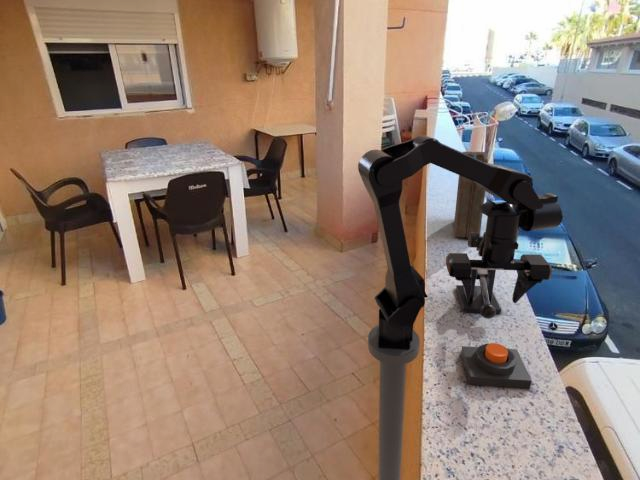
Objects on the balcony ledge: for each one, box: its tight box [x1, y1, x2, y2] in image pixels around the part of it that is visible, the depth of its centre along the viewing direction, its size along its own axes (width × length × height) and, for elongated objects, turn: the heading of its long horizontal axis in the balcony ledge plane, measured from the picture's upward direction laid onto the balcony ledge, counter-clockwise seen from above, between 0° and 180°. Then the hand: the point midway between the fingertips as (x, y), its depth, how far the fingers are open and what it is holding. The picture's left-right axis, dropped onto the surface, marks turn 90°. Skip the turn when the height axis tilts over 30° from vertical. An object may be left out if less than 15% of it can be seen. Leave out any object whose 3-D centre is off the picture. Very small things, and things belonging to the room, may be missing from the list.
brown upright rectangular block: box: [453, 151, 489, 239], centre depth 123 cm, size 19×8×25 cm, turn 161°
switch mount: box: [455, 269, 502, 315], centre depth 87 cm, size 10×8×10 cm
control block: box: [460, 343, 532, 390], centre depth 68 cm, size 10×8×4 cm
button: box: [485, 342, 508, 364], centre depth 67 cm, size 4×4×2 cm
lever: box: [476, 269, 496, 320], centre depth 83 cm, size 13×3×3 cm, turn 172°
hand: (490, 301), depth 79 cm, fingers open, 9 cm apart
